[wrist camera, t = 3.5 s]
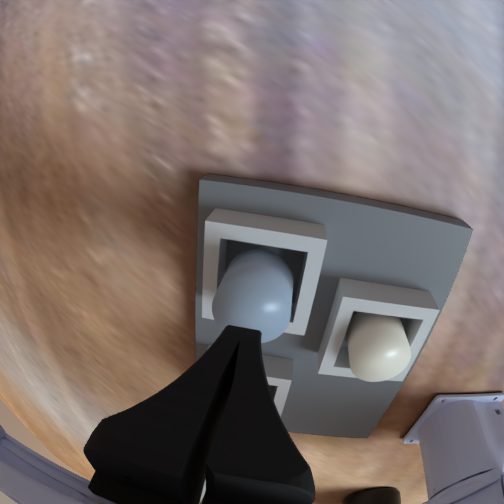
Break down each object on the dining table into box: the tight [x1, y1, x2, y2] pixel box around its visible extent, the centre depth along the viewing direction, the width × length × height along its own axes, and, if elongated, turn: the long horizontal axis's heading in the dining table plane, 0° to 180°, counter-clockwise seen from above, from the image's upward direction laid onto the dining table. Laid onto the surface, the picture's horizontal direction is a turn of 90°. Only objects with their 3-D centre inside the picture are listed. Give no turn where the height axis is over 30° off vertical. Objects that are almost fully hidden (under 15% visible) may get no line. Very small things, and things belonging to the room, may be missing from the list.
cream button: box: [346, 312, 411, 382], centre depth 18 cm, size 4×4×3 cm
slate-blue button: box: [212, 249, 294, 343], centre depth 16 cm, size 4×4×3 cm
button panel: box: [195, 174, 473, 438], centre depth 21 cm, size 16×21×4 cm
